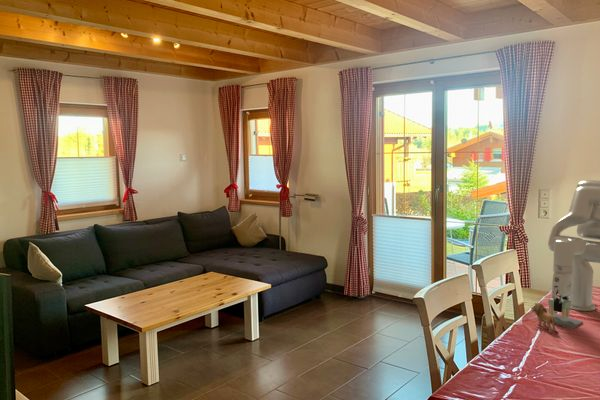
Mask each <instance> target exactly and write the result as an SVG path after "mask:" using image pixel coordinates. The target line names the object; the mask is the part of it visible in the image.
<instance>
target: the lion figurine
mask: <svg viewBox="0 0 600 400" xmlns="http://www.w3.org/2000/svg"><path fill="white" fill-rule="evenodd" d="M530 309H531V312H533V313H534V314H535V315H536V317H538V318H539V319H538V323H537V326H538V327H541V326H542V325H543V326H547V328H548V329H549V331H548V334H552V333H553V332H555V333H556V334H557V335H558V334H559V333H560V332H558V331H557V330H556V328H555V325H556V324H555V318H554V316H553V315H550V314H549V312H548V310H547V308H546V307H545V306H544V305H543V304H542V303H540V302H535V303H534V305H533V306H532V307H530ZM542 319H543V320H544V321H543V322H542ZM551 322H552V323H551ZM551 325H552V326H551Z"/></svg>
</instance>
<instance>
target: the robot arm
mask: <svg viewBox="0 0 600 400" xmlns="http://www.w3.org/2000/svg"><path fill="white" fill-rule="evenodd" d="M569 206H570V207H569V209H568V213H567V215H565V216H563V217H562V218H560V219H559V220H558V221H557V222H556V223H555V224H554V225H553V226H552V229H550V230H551V231H550V234H549V236H548V237H549V238H548V242H547V245H548V248H549V250H550V251H552V252H553V261H552V272H553V275H552V282H551V283H552V284H551V298H553V301H554V309H553V310H554V311H557V312H558V313H562V303H561V301H562V299H565V300H569V301H571V307H570V310H574V311H582V312H591V311H594V310H596V305H595V304H594V303H593V300H594V298H595V297H594V296H593V286H594V285H593V284H594V269H593V267H592V265H591V264H590V263H595V264H600V180H598V179H597V180H593V179H587V180H584V179H583V180H581V181H579V182H578V183H577V185H576V189H575V190H574V193H573V196H572V200H571V204H570V205H569ZM575 226H577V227H576V234H577V236H578V237H576V236H567V235H561V233H562V232H563V231H565V230H567V229H568V228H571V227H575ZM588 239H589V240H588ZM596 240H597V241H596Z"/></svg>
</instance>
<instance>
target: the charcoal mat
mask: <svg viewBox="0 0 600 400" xmlns="http://www.w3.org/2000/svg"><path fill="white" fill-rule="evenodd" d="M553 316H554V318H555V324H554V325H557V326H559V327H563V328H567V329H570V330H573V329H575V328H577V327H579V326H580V325H582V324H583V323H584V321H583V320H579V319H575V318H571V317H566V319H562V318H561V317H562V314H561V315H560V314H557V313H556V314H554V313H553ZM538 320H539V318H538ZM542 321H543V322H544V320H543V319H542V320H541V322H542ZM550 324H552V322H551V323H550Z"/></svg>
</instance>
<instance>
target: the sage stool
mask: <svg viewBox="0 0 600 400" xmlns="http://www.w3.org/2000/svg"><path fill="white" fill-rule="evenodd" d="M561 303H562V312H561V316H562V317H561V318H562V319H566V317H568V318H571V317H570V315H571V314H570V313H571V308H570V307H571V301H569V300H565V299H562V301H561ZM553 309H554V301H553V298H552V297H551V298H548V313H549V314H550V315H553V313H554V314H557V311H554V310H553Z"/></svg>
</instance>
